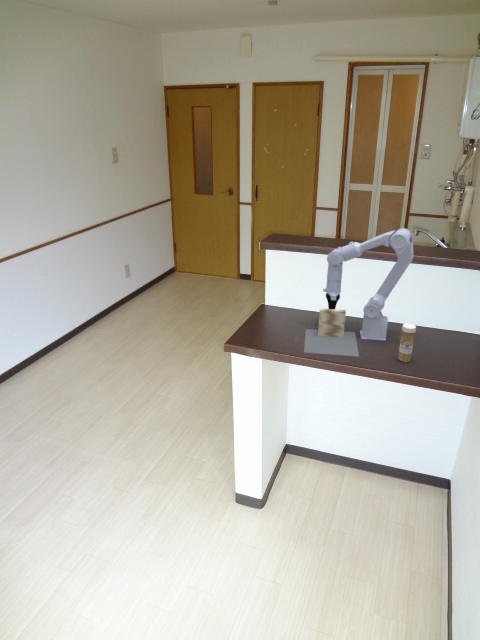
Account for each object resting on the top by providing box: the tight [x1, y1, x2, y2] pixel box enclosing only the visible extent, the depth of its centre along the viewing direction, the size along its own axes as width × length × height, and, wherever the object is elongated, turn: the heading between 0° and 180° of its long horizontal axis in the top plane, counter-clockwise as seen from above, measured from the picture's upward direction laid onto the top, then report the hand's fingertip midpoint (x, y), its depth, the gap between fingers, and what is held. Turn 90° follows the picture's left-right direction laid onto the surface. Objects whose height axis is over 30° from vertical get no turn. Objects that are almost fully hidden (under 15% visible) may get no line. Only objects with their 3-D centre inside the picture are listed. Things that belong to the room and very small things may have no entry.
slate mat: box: [303, 328, 360, 358], centre depth 178 cm, size 20×22×1 cm
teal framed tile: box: [317, 308, 347, 337], centre depth 182 cm, size 10×2×11 cm, turn 81°
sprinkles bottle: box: [397, 323, 417, 363], centre depth 163 cm, size 5×5×13 cm
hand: (331, 311), depth 188 cm, fingers closed
